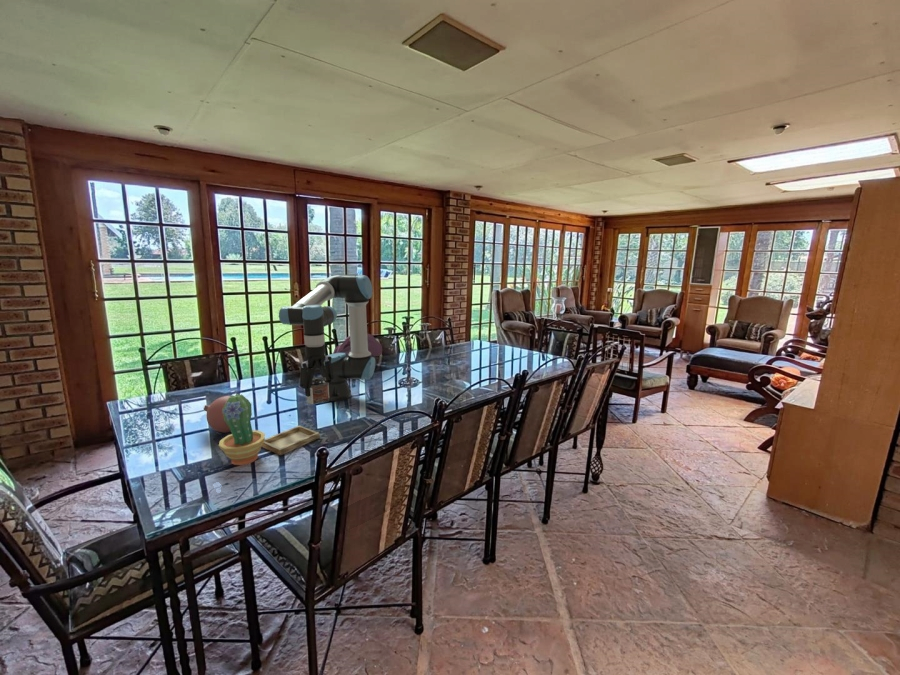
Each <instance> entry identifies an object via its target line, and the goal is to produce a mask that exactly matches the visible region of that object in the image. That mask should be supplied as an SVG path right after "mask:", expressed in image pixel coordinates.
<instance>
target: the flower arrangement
mask: <svg viewBox="0 0 900 675" xmlns="http://www.w3.org/2000/svg"><path fill="white" fill-rule="evenodd" d="M367 340H368V351H369V352H370V353H371V357H373V358H374V357H379V356H381V355H382V354H383V347H382V344H381V343H380V342H379V341H378V340H377V339H376V338H375V337H374V335H372V334H370V333H368V332H367ZM350 352H351V341H350V335H349V336H347V337H346V338H344V341H343V342H341V343H340V344H339V345H337V346H336V347H335V349H334V351H333V353H332V354H335V353H345V354H346V356H347V357H348V354H349V353H350Z"/></svg>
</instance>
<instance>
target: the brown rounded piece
mask: <svg viewBox="0 0 900 675" xmlns="http://www.w3.org/2000/svg"><path fill="white" fill-rule="evenodd" d="M230 396H231V395H224V396H220V397H218V398H217V399H214V401H212V402H211V403H210V404H204V407H203V411H204V412H206V421H207V424H208V426H209V427H210V428H211V429H213V430H214V431H215V432H216V431H217V432H219V433H231V430H230V428H229V426H228V424H227V423H226V422H225V420H224V416H223V411H222V409H223V407H224V405H225V404H226V402H227V400H228V398H229V397H230Z"/></svg>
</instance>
